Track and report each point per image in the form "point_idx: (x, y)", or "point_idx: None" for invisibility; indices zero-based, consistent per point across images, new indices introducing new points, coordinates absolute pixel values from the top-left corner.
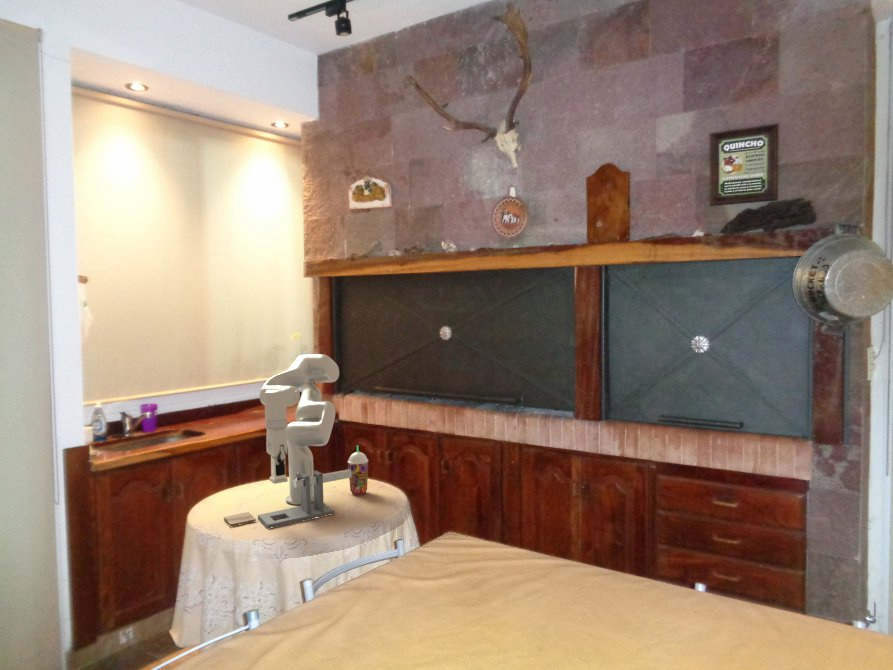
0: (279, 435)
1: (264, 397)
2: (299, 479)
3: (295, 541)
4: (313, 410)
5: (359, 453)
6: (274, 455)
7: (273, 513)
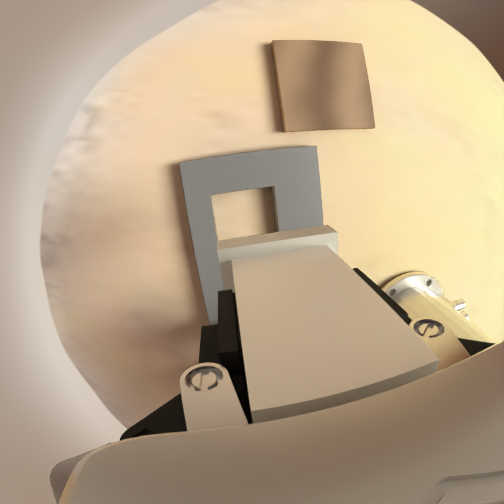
0: None
1: None
2: None
3: (41, 236)
4: None
5: None
6: (75, 471)
7: (302, 205)
